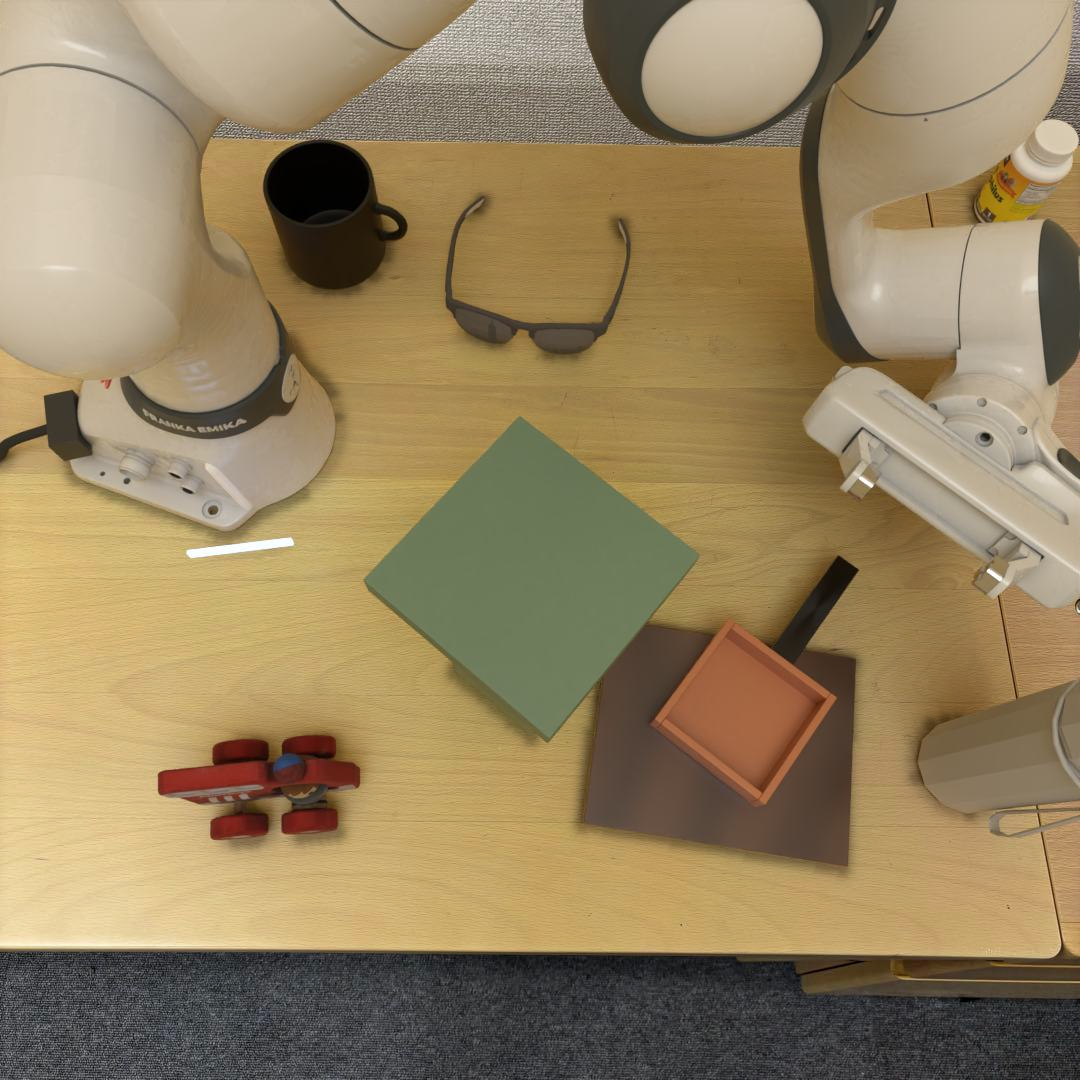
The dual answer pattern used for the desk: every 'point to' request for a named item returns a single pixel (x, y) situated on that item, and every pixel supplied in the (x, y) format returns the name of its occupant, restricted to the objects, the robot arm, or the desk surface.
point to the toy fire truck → (266, 784)
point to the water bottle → (1009, 757)
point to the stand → (531, 577)
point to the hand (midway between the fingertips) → (921, 535)
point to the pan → (753, 698)
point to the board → (692, 791)
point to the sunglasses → (542, 334)
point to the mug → (328, 213)
